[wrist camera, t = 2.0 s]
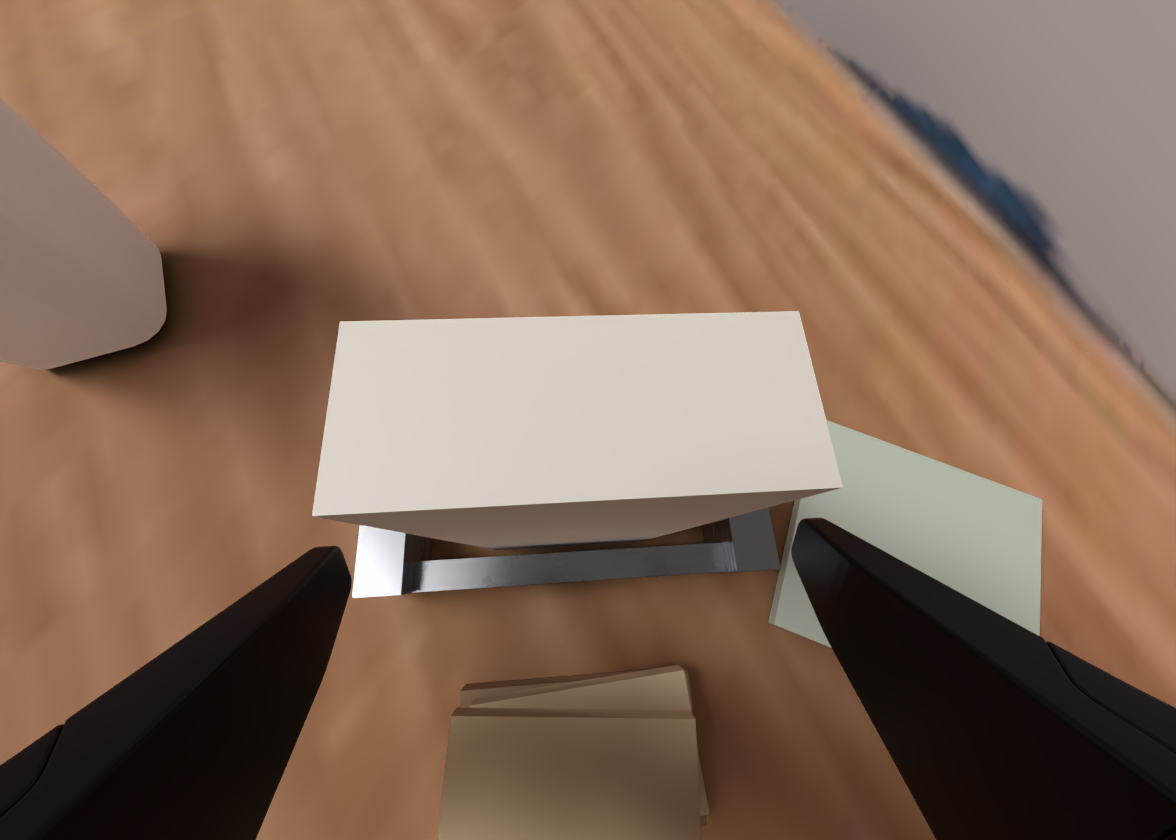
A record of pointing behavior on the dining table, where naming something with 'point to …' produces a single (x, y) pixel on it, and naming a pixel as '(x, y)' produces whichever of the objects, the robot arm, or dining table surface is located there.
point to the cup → (67, 260)
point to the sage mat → (923, 530)
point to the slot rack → (557, 560)
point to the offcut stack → (575, 759)
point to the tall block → (570, 426)
